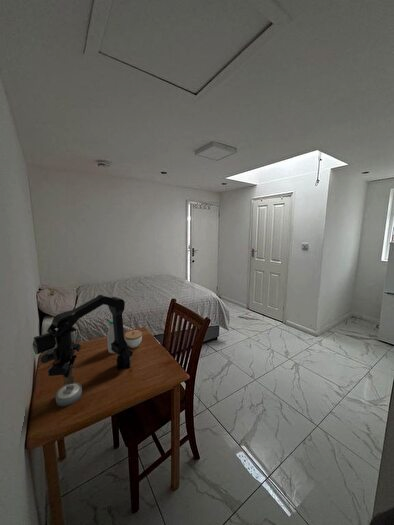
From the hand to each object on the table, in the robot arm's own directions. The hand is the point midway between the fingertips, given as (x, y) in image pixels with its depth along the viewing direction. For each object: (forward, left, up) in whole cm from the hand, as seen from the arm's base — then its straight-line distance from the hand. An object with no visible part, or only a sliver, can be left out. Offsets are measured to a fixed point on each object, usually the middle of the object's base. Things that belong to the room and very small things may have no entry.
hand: (67, 375), depth 92 cm
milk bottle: (-13, -35, -11) cm, 39 cm away
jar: (0, 0, -11) cm, 11 cm away
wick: (0, 0, -4) cm, 4 cm away
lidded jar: (-24, -39, -11) cm, 47 cm away
